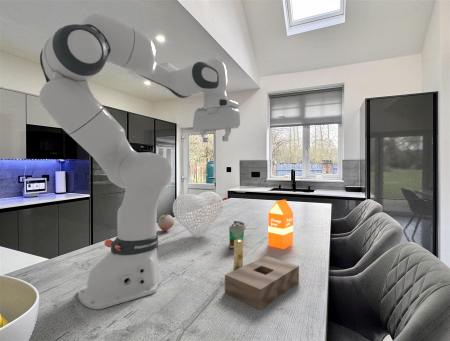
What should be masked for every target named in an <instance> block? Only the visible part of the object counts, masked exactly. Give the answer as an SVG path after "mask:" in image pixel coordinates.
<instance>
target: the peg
mask: <svg viewBox="0 0 450 341" xmlns="http://www.w3.org/2000/svg"><path fill="white" fill-rule="evenodd" d="M243 249H244V239H243V240H239V239H237V240H234V250H233V271H234V270H236V269H238V268H241V267H243V266H244V263H243V262H244V256H243V255H244V250H243Z"/></svg>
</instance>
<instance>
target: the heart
mask: <svg viewBox="0 0 450 341" xmlns="http://www.w3.org/2000/svg"><path fill="white" fill-rule="evenodd" d="M223 208H224V200H223V198H222V197H221V195H220V194H218V192H214V191H210V190H207V191H203V192H200V193H199V194H194V193H183V194H180V195H178V196H177V197H176V199H174V201H173V204H172V213H173V216H174V217H175V219H176V220H177V221H178V223H179V224H180V225H181V226H183V227H184V228H185V229H186V230H187V231H188V232H189V233H190V234H191V235H192V236H193V237H194V238H195V237H196V238H198V239H199V238H201V237H203V236H204V235H205V234H206V233H207V231H208V230H209V229H210V228H211V226H212V225H213V224H214V222H216V221H217V219H218V218H219V216H221V213H222V212H223Z"/></svg>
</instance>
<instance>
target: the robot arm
mask: <svg viewBox="0 0 450 341" xmlns="http://www.w3.org/2000/svg"><path fill="white" fill-rule="evenodd" d="M156 53H157V52H156V47H155V44H154V42H153V39H152V38H150V37H149V35H147V34H146V33H144V32H143V31H142V30H140V29H137V28H135V27H134V26H132V25H129V24H127V23H125V22H122V21H121V20H117V19H115V18H112V17H109V16H105V15H102V14H99V13H91V14H89V15H87V16H86V17H85V18H84V19H83V21H82V23H81V24H74V23H73V24H68V25H67V24H66V25H64V26H62V27H60V28H58V29H57V31H56V32H54V34H53V35H52V36H50V37H49V38H48V39H47V40H46V42H45V43H44V45H43V48H42V50H41V51H40V54H39V63H40V67H41V70H42V72H43V75H44V77H45V78H44V79H45V81H46V83H45V84H44V85H43V86H42V88H41V89H40V91H39V96H38V98H39V101H40V104H41V105H42V107H43V108H44V109H45V111H46V112H47V113H48V114H49V115H50V117H51V118H52V119H53V120H54V121H55V122H56V124H57V125H58V126H59V127H60V128H62V130H63V131H64V132H65V133H66V134H67V135H69V137H71V138H72V139H73V140H74V141H75V142H76V143H77V144H78V145H79V146H81V147H82V149H83V150H85V151H86V152H87V153H88V154H89V155H90V156H91V157H92V158H93V159H94V161H95V162H96V163H97V165H98V166H99V167H100V168H101V169H102V171H103V172H104V173H105V174H106V177H107V178H108V180H109V182H111V183H112V184H114V185H115V186H117V187H119V188H121V189H125V192H124V196H123V200H122V202H121V206H119V208H118V209H117V212H116V213H117V216H116V217H117V222H116V224H117V225H116V226H117V230H116V231H117V235H116V238H115V239H114V240H112V239H105V241H104V246H105V247H107V248H110V252H109V253H108V254H106V255H105V256H104V257H103V258H102V259H101V260H100V261H99V262H98V263H97V264H96V265H94V266H93V267H92V268H91V269H90V271H89V274H88V278H87V284H86V285H83V286H81V287H80V288H79V289H78V291H77V298H78V301H80V303H82V305H83V306H85V307H87V308H89V309H92V310H102V309H106V308H109V307H112V306H116V305H118V304H121V303H126V302H129V301H132V300H136V299H140V298H143V297H146V296H148V295H152V294H155V293H157V290H158V286H159V285H160V284H161V283H162V281H163V277H162V275H161V271H160V266H159V259H158V248H159V234H158V233H157V223H158V218H157V217H158V216H157V214H158V213H157V212H158V206H159V201H160V198H161V194H162V193H163V190H164V188H165V187H166V186H167V185H168V184H169V183H170V181H171V178H172V174H173V172H172V166H171V163H170V161H169V160H168V159H167V157H165V156H163V155H160V154H158V153H154V152H150V151H148V152H144V151H143V152H137V151H136V150H134V149H133V147H132V146H131V144H130V143H129V141H128V139H127V137H126V131H125V129H124V127H123V126H122V125H121V123H119V122H118V121H117V119H115V118H114V116H113V115H112V114H111V113H110V112H109V111H108V110H107V108H106V107H104V106H103V104H102V103H101V102H100V101H99V100H98V99H97V98H96V97H95V96H94V94H93V93H92V91H91V89H90V87H89V83H88V81H89V80H91V78H93V77H94V76H96V75H97V74H98V73H99V72H101V71H102V70H103V68H104V66H105V65H106V63H111V64H113V65H115V66H117V67H118V66H119V67H120V68H121V67H122V68H123V69H125V70H129V71H131V72H134V73H135V74H137V75H138V76H140V77H142V78H144V79H146V80H147V81H150V82H153V83H155V84H157V85H159V86H162V87H163V88H165V89H166V90H169V91H170V93H172V94H173V95H174V96H176V97H177V98H180V99H185V98H188V97H191V96H193V95H195V94H198V93H203V107H198V108H196V110H195V111H194V115H193V120H192V121H193V122H192V129H193V131H194V132H197V133H198V132H199V133H200V135H201V137H202V143H209V137H207V132H209V131H221V130H224V132H225V133H224V135H222V139H221V141H222V142H229V136H230V135H231V133H232V129H238V128H239V127H240V124H241V116H240V115H241V114H240V110H239V103H238V102H236V101H235V100H234V101H233V100H231V99H228V95H227V88H228V72H227V68H226V64H225V63H224V62H223V61H221V60H219V59H215V58H213V59H212V58H211V59H208V60H207V61H197V62H193V63H192V64H190V65H188V66H185V67H183V68H181V69H178V70H172V69H169V68H167V67H165V66H164V65H161V64H160V63H157V61H156V55H157V54H156Z"/></svg>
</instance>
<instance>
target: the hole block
mask: <svg viewBox="0 0 450 341" xmlns="http://www.w3.org/2000/svg"><path fill="white" fill-rule="evenodd" d="M299 278H300V266H299V265H297V264H294V263H290V262H286V261H284V260H281V259H278V258H273V257H271V256H267V255H265V256H263V257H261V258H259V259H256V260H254V261H252V262H250V263H247V264H245V265H243V267H241V268H238V269H236V270H234V269H233V270H232V271H230V272H228V273H226V274H224V294H227V295H230V296H231V297H234V298H236V299H237V300H239V301H242V302H243V303H245V304H248V305H250V306H252V307H255V308H256V309H258V310H262V309H264V307H265V308H266V306H267V305H269V304H271V303H272V302H273V301H274V300H276V299H278V298H279V297H280V296H282V295H283V294H284V293H286V292H287V291H288V290H290V289H292V288H293V287H294V286H295V285H297V284H299V282H300V279H299Z"/></svg>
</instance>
